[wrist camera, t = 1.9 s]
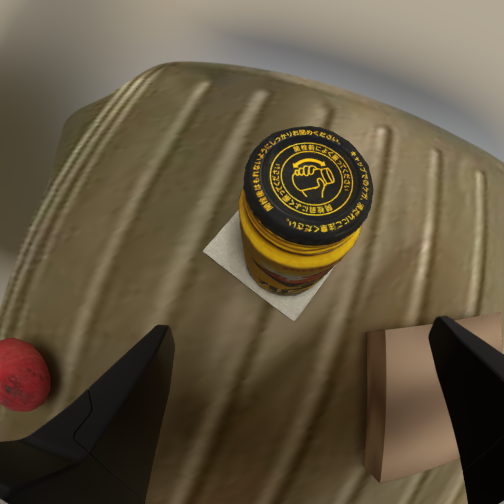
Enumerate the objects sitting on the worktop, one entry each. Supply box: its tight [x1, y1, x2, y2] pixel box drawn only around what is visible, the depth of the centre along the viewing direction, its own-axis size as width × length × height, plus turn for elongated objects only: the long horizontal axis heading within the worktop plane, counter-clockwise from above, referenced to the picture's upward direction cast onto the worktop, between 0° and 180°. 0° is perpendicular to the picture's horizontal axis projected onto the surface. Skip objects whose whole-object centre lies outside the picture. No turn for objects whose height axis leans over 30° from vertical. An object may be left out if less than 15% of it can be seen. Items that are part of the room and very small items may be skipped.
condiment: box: [203, 126, 373, 321], centre depth 17 cm, size 7×8×12 cm
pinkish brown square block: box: [364, 312, 502, 483], centre depth 18 cm, size 11×11×4 cm
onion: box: [0, 338, 51, 411], centre depth 16 cm, size 6×6×8 cm
